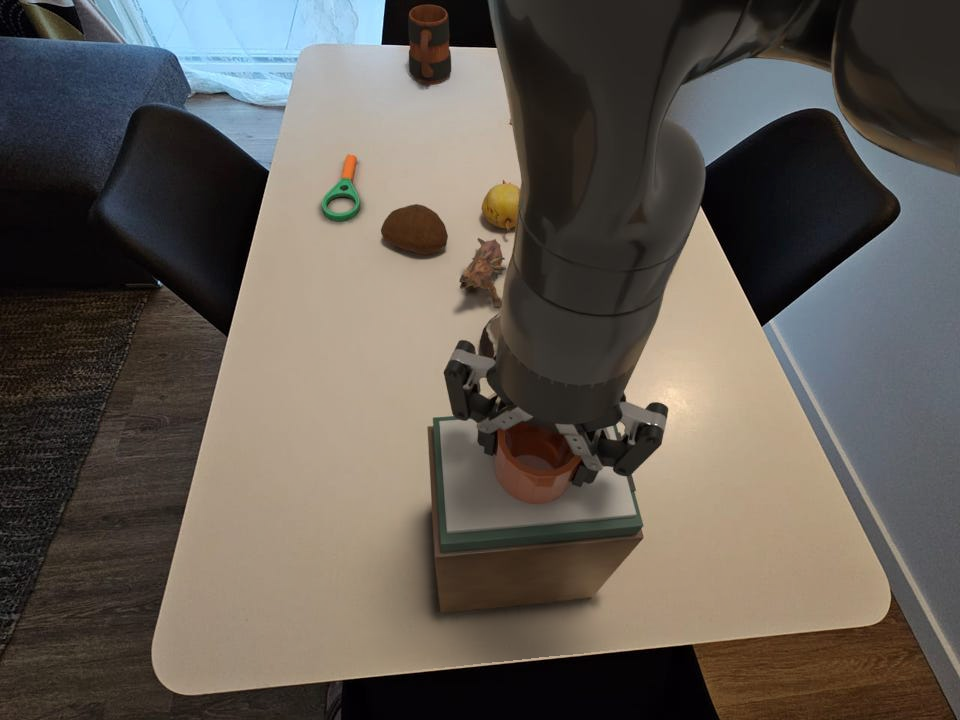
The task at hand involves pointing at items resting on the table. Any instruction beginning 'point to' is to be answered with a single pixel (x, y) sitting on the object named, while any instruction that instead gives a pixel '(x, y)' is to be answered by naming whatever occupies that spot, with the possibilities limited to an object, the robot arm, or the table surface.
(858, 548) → the table surface
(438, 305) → the table surface
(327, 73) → the table surface
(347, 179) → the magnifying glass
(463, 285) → the dinosaur figurine
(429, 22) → the mug
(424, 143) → the table surface
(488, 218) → the fruit
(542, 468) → the bowl
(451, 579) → the stand
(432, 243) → the potato
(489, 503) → the scale
